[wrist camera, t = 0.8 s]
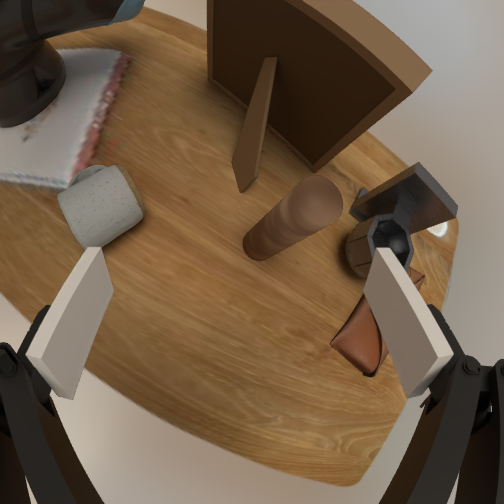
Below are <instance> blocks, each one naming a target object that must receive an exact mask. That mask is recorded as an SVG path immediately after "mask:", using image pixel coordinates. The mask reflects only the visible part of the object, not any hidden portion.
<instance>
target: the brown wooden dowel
mask: <svg viewBox="0 0 504 504" xmlns="http://www.w3.org/2000/svg"><path fill="white" fill-rule="evenodd" d="M342 210H343V200H342V196H341V193H340V191H339V190H338V188H337V187H336V186H335V184H334V183H333V182H331V181H330V180H329V179H327V178H325V177H323V176H319V175H312V176H308V177H306V178H304V179H303V180H302V181H301V182H300V183H299V184H298V185H297V186H296V187H295V188H294V189H292V190H291V191H290V192H289V193H288V194H287V195H286V196H285V197H284V198H283V199H282V200H281V201H280V202H279V203H278V204H277V205H276V206H275V207H274V208H273V209H272V210H271V211H270V212H268V213H267V214H266V215H265V216H264V217H263V218H262V219H261V220H260V221H259V222H258V223H257V224H256V225H255V226H254V227H253V228H252V229H251V230H250V231H249V232H248V233H247V234H246V235H245V237H244V239H243V248H244V251H245V253H246V254H247V255H248V256H249V257H250V258H251V259H253V260H257V261H262V260H265V259H267V258H269V257H271V256H273V255H275V254H277V253H279V252H280V251H282V250H284V249H286V248H288V247H290V246H292V245H293V244H295V243H297V242H299V241H301V240H303V239H305V238H306V237H308V236H310V235H312V234H314V233H316V232H317V231H319V230H321V229H323V228H325V227H327V226H328V225H330V224H332V223H334V222H335V221H337V220H338V219H339V217H340V216H341V214H342Z"/></svg>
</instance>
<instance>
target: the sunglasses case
mask: <svg viewBox="0 0 504 504" xmlns="http://www.w3.org/2000/svg"><path fill="white" fill-rule="evenodd" d="M406 273H407V274H408V276H409V278H410V279H411V281H412V282H413V284H414V285H415V287H416V289H417V290H418V292H419V290H420V287H421V285H422V282H423V280H424V278H425V275H422V274H421V273H419V272H418V271H416V270H414V269H413V268H411V267H410V266H409V268H408V271H407V272H406ZM330 345H331V347H332V348H334V349H335V350H337V351H338V352H339V353H340V354H341V355H343V356H344V357H345V358H346V359H347V360H348V361H349V362H351V363H352V364H353V365H354V366H355V367H356V368H358V369H359V370H360V371H362V372H363V375H364V376H367V377H374V376H375V375H376V373H377V372H378V370H379V368H380V366H381V364H382V363H383V361H384V360H385V358H386V356H387V355H388V353H389V350H388V348H387V345H386V343H385V340H384V338H383V336H382V333H381V331H380V329H379V326H378V324H377V321H376V319H375V317H374V315H373V312H372V310H371V308H370V305H369V303H368V301H367V299H366V297H365V294H363V296H362V298H361V299H360V301H359V303H358V304H357V306H356V307H355V309H354V311H353V312H352V314H351V315H350V317H349V319H348V320H347V322H346V323H345V325H344V326H343V327H342V329H341V330H340V331H339V333H338V334H337V335H336V336H335V337H334V338H333V340H332V341H331V343H330Z"/></svg>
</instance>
